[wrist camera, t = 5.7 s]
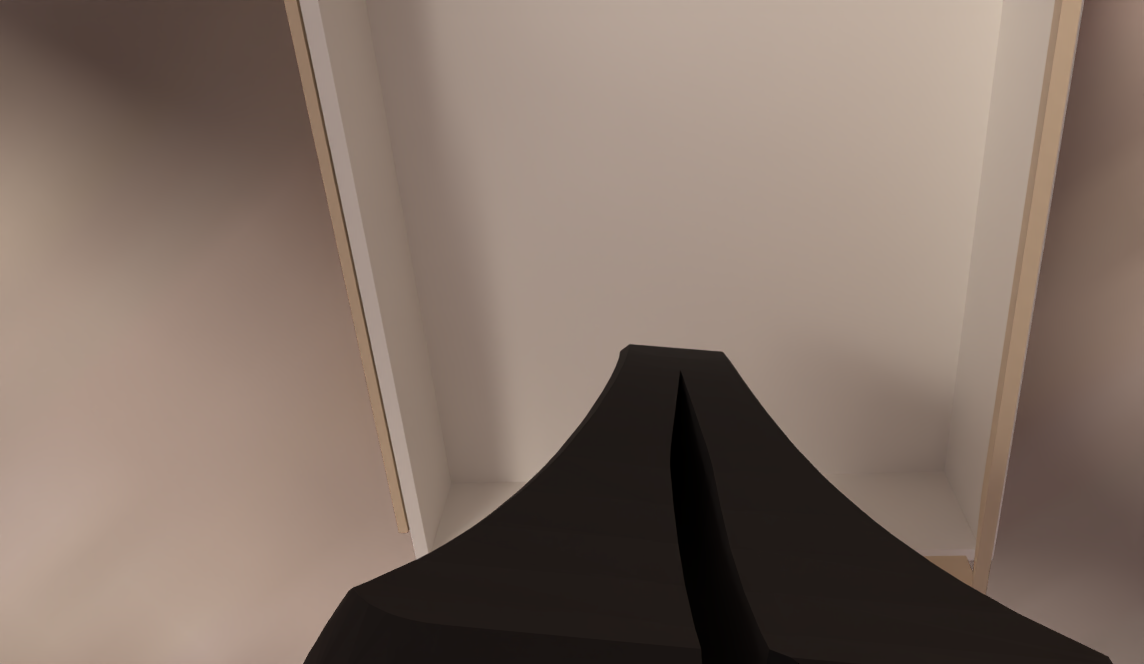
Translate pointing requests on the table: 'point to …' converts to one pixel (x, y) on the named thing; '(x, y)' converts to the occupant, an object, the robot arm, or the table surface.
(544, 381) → the carton
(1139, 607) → the table surface
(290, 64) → the table surface
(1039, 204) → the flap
